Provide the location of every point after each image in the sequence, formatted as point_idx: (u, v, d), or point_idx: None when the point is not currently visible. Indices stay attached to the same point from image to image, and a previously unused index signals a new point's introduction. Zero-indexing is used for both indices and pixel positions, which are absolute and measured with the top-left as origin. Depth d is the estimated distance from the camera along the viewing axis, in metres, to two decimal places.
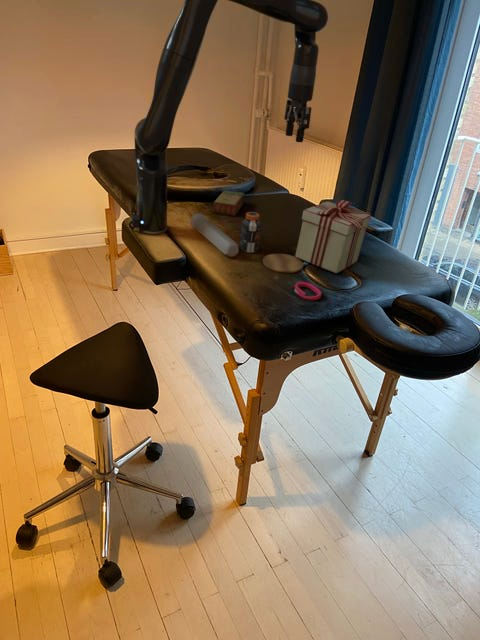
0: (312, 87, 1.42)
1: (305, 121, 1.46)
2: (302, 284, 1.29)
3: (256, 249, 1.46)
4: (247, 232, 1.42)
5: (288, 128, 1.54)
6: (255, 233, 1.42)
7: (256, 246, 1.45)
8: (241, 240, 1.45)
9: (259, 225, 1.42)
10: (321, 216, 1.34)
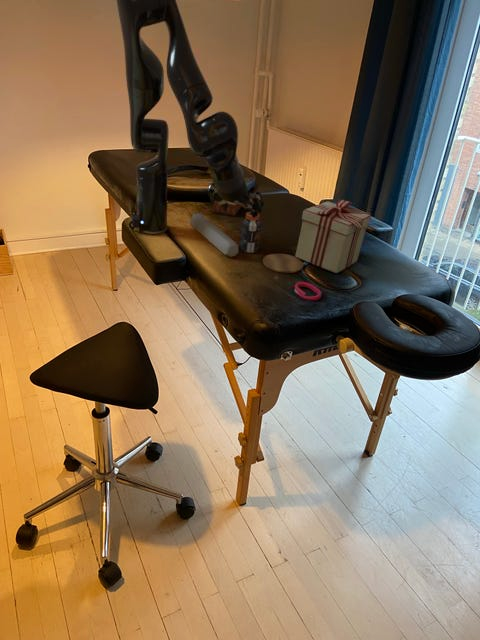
0: None
1: None
2: (302, 284, 1.29)
3: (256, 249, 1.46)
4: (247, 232, 1.42)
5: (224, 206, 1.29)
6: (255, 233, 1.42)
7: (256, 246, 1.45)
8: (241, 240, 1.45)
9: (259, 225, 1.42)
10: (321, 216, 1.34)
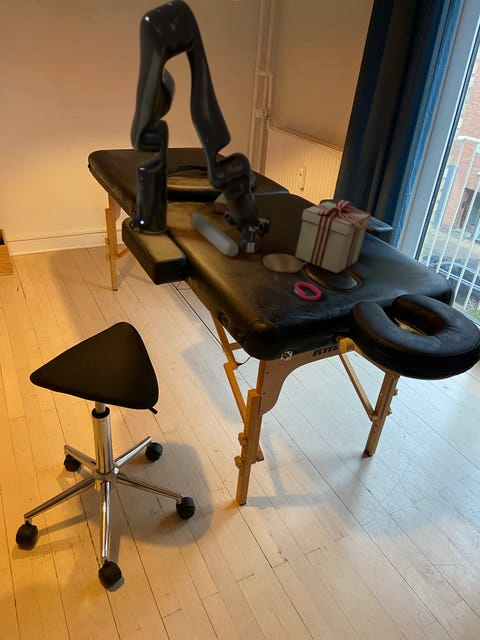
0: None
1: (261, 222, 1.40)
2: (302, 284, 1.29)
3: (256, 249, 1.46)
4: (247, 232, 1.42)
5: None
6: (255, 233, 1.42)
7: (256, 246, 1.45)
8: (241, 240, 1.45)
9: None
10: (321, 216, 1.34)
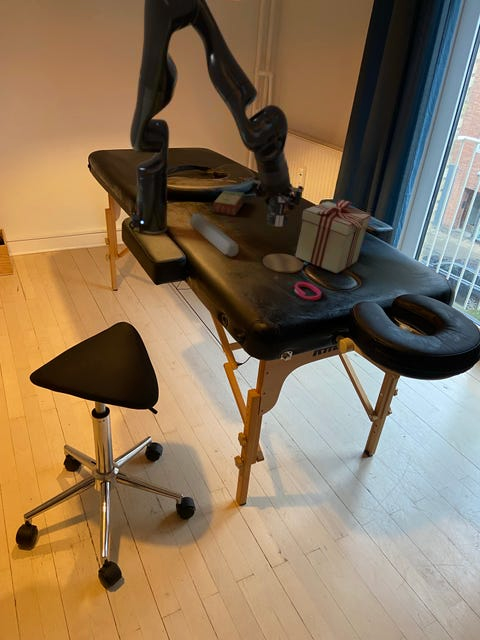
0: None
1: (292, 193, 1.29)
2: (302, 284, 1.29)
3: (285, 223, 1.35)
4: (276, 203, 1.31)
5: None
6: (285, 205, 1.31)
7: (285, 219, 1.34)
8: (269, 213, 1.34)
9: None
10: (321, 216, 1.34)
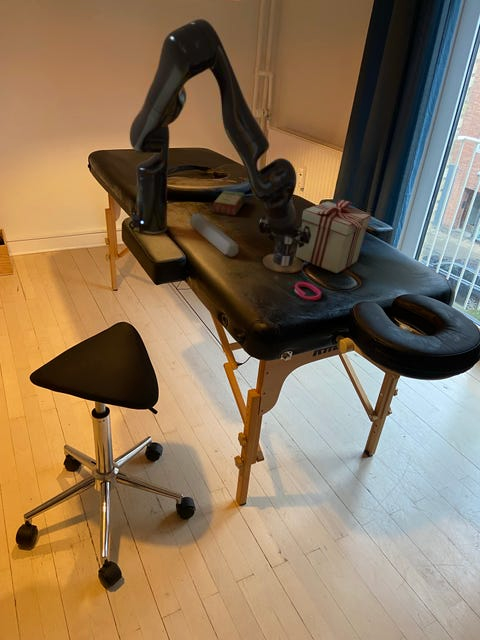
0: None
1: None
2: (302, 284, 1.29)
3: (291, 262, 1.39)
4: (282, 245, 1.35)
5: (272, 236, 1.37)
6: (291, 246, 1.35)
7: (291, 259, 1.38)
8: (275, 253, 1.38)
9: None
10: (321, 216, 1.34)
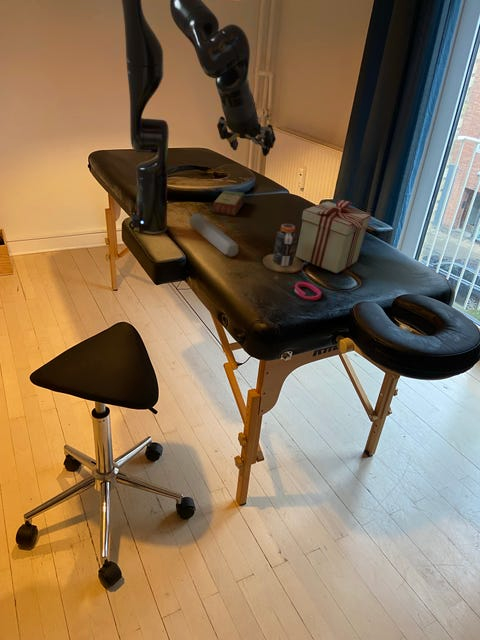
0: None
1: (264, 135, 1.20)
2: (302, 284, 1.29)
3: (291, 262, 1.39)
4: (282, 245, 1.35)
5: (234, 144, 1.25)
6: (291, 246, 1.35)
7: (291, 259, 1.38)
8: (275, 253, 1.38)
9: (295, 238, 1.35)
10: (321, 216, 1.34)
